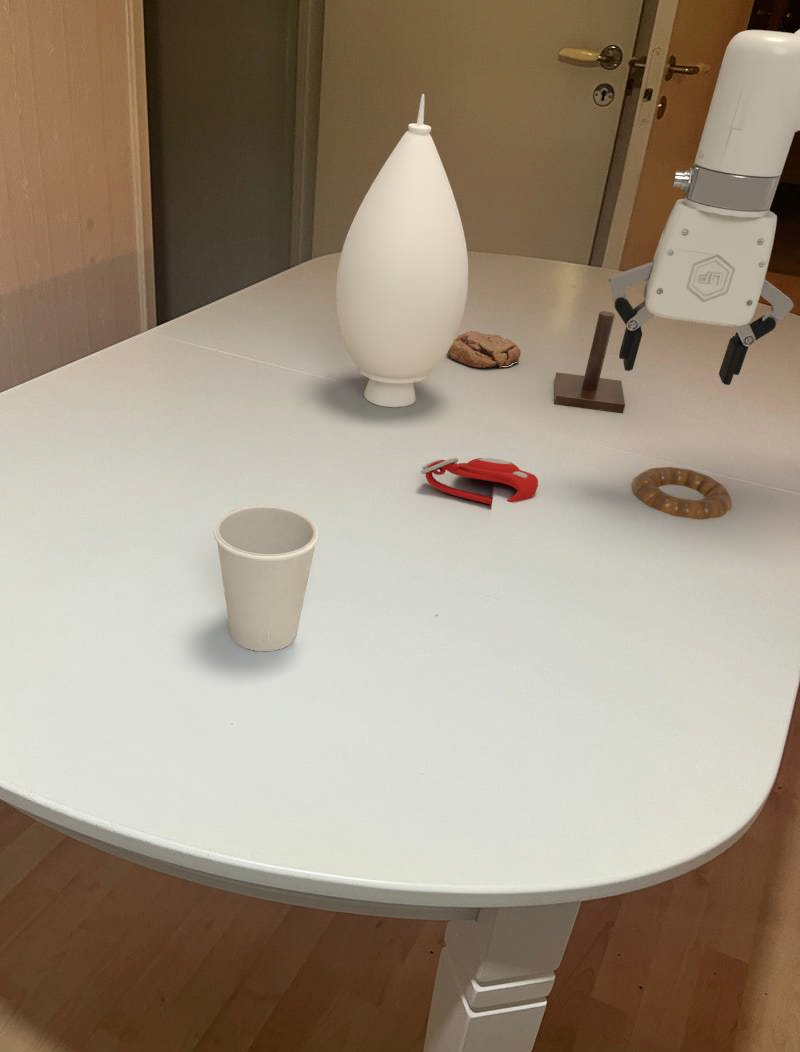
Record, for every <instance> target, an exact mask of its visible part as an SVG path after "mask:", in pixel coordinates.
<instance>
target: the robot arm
mask: <svg viewBox="0 0 800 1052" xmlns="http://www.w3.org/2000/svg"><path fill="white" fill-rule="evenodd" d="M796 132H800V28H799V29H798V30H797V31H795V32H794V33H792V32H785V31H783V32H782V31H775V30H763V29H748V30H743V31H740V32H738V33H737V34H735V35H734V36H733V37H732V38H731V39H730V41H729V42H728V45H727V46H726V49H725V51H724V54H723V58H722V61H721V65H720V69H719V72H718V76H717V80H716V83H715V87H714V91H713V94H712V98H711V101H710V105H709V109H708V112H707V115H706V119H705V123H704V126H703V130H702V134H701V137H700V140H699V144H698V145H699V146H698V148H697V151H696V154H695V159H694V162H692V165H691V167H689V168H688V170H686V169H685V170H683V171H681V170H675V171H674V175H673V178H672V183H671V187H673V188H679V190H682V191H683V193H684V195H685V196H684V198H680V199H677V200H676V202H675V204H674V206H673V207H672V209H671V212H670V214H669V216H668V219H667V221H666V223H665V225H664V227H663V230H662V233H661V236H660V238H659V240H658V244H657V247H656V250H655V253H654V256H653V259H652V261H650V262H647V263H645V264H642V265H639V266H636V267H633V268H630V269H628V270H624V271H622V272H619V273H615V274H612V275H611V276H610V277H609V279H608V285H609V290H610V293H611V298H612V301H613V306H614V309H615V311H616V312H617V314H618V315H619V317H620V318H621V320H622V322H623V323H624V325H625V330H624V333H623V337H622V341H621V345H620V348H619V353H618V359H619V360H623V368H624V371H627V372H631V371H633V369H634V366H635V363H636V359H637V355H638V352H639V348H640V345H641V340H642V338H643V331H642V330H643V329H642V327H643V325H644V324H646V322H648V321H649V320H651V319H652V318H653V317H658V318H662V319H668V320H676V321H682V322H690V323H697V324H704V325H711V326H712V325H713V326H721V327H732V328H734V329H735V331H736V332H735V334H734V335H732V337H730V338H729V340H728V344H727V347H726V349H725V353H724V355H723V359H722V361H721V365H720V368H719V372H718V376H719V378H720V381H721V383H722V384H723V385H725V386H730V385H731V384H732V381H733V378H734V376H739V375H740V373H741V371H742V367H743V365H744V362H745V359H746V356H747V353H748V350H749V347H751V346H754V344H755V343H756V341H758V340H759V339H761V338H762V337H764V336H766V335H767V334H769V333H771V332H772V331H774V330H775V329H776V327H777V325H778V324H779V322H781V321H782V320H783V319H784V318H785V317H787V315H789V313H790V312H791V311H792V310H793V308H794V305H795V304H794V302H793V301H792V299H791V298H790V297H788V296H787V295H786V294H785V293H784V292H782V291H781V290H780V289H778V288H777V287H776V286H775V285H773V284H772V283H771V282H769V281H768V280H767V279H766V276H767V272H768V267H769V263H770V260H771V255H772V250H773V246H774V240H775V236H776V235H775V234H776V228H777V221H778V216H777V214H775V212H773V211H771V210H770V209H771V206H772V203H773V201H774V197H775V194H776V191H777V188H778V185H779V182H780V179H781V175H782V173H783V170H784V166H785V163H786V162H787V161H786V160H787V158H788V155H789V152H790V148H791V146H792V144H793V143H792V142H793V139H794V136H795V133H796ZM643 282H645V284H644V289H643V299H642V300H641V301H640V302H638V303H637V304H636V305H635V306H634V307H633V306H632V305H631V303H630V302H629V300H628V298H627V296H626V289H627V288H628V287H632V286H634V285H637V284H639V283H643ZM760 297H761V298H763V299H764V300H765V301H767V302H768V303H769V304H770V305H771V307H770V309H768V310H767V312H766V314H763V315H762V316H760V317H758V318H757V319H755V320H753V318H754V316H755V313H756V310H757V307H758V305H759V301H760ZM752 320H753V321H752ZM751 321H752V322H751ZM750 322H751V323H750Z"/></svg>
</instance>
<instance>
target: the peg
mask: <svg viewBox="0 0 800 1052" xmlns="http://www.w3.org/2000/svg"><path fill="white" fill-rule="evenodd" d="M615 317H616V314H615V313H613V312H612V311H606V310H605V311H604V310H603V311H599V313H598V317H597V321H596V325H595V330H594V334H593V339H592V343H591V346H590V347H591V348H590V352H589V355H588V360H587V364H586V368H585V373H584V375H582V374H580V375H579V374H573V373H565V372H556V373H555V376H554V404H555V405H560V406H561V405H562V406H568V407H575V408H584V409H592V410H598V411H606V412H614V413H621V414H622V413H623V414H624V411H625V407H626V401H625V396H624V395H625V394H624V389H623V383H622V380H620V379H613V378H612V379H611V378H603V377H601V374H602V371H603V366H604V362H605V358H606V354H607V350H608V347H609V342H610V338H611V333H612V329H613V325H614V321H615Z"/></svg>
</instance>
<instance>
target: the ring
mask: <svg viewBox="0 0 800 1052" xmlns="http://www.w3.org/2000/svg"><path fill="white" fill-rule="evenodd" d="M670 485H673V486H674V485H675V486H680V487H685V488H689V489H692V490H694V491H696V492H698V493H699V494H701V495H702V496H703V497H704V499H688V498H680V497H677V496H674V495H671V494H670V493H666V492H663V491H662V490H661V489H660V487H661V486H670ZM631 489H632V494H633V495H634V497H636V498H637V499H638V500H639V501H641V502H642V503H643V504H644V505H646V506H647V507H649V508H652V509H653V510H657V511H658V512H662V513H665V514H667V515H670V516H673V517H678V518H685V519H693V520H707V519H716V518H721V517H723V516H724V515H725V514H727V513H728V512H729V511H730V510H732V506H733V502H732V498H731V495H730V493H729V490H728V488H727V487H726V486H725V485H724V484H722V483H720V482H719V481H717V480H716V479H715V478H713V477H712V476H709V475H707V474H704V473H701V472H699V471H696V470H693V469H688V468H683V467H682V468H681V467H674V466H661V467H652V468H648V469H646V470H644V471H643V472H641V473H639V474H638V475H637V476H635V477H634V478H633V480H632V482H631Z"/></svg>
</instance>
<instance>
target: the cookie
mask: <svg viewBox="0 0 800 1052" xmlns="http://www.w3.org/2000/svg"><path fill="white" fill-rule="evenodd" d="M447 354H448V356H449V357H450V356H451V359H452V358H453V359H455V360H454V361H456V360H457V361H460V362H462V363H461V364H463V363H464V364H463V365H466V364H468V365H467V366H469V365H470V366H469V367H471V366H473V367H472V368H479V369H481V368H483V369H487V368H486V367H489V368H492V367H494V366H495V367H498V366H499V367H502V366H509V365H511V364H512V363H515V362H518V363H519V359H520V357H521V354H522V353H521V349H520V347H519V346H518V344H517V343H515V342H513V341H512V340H511V339H509V338H504V337H503V336H501V335H500V334H493V333H484V332H480V331H473V330H469V331H466V332H463V333H461V334H459V335H457V336H456V337H455V339H454V341H453V343H452V345H451V347H450V349H449V350H448V352H447ZM453 359H452V360H453ZM457 361H456V362H457ZM460 362H459V363H460ZM495 367H494V368H495ZM499 367H498V368H499Z"/></svg>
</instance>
